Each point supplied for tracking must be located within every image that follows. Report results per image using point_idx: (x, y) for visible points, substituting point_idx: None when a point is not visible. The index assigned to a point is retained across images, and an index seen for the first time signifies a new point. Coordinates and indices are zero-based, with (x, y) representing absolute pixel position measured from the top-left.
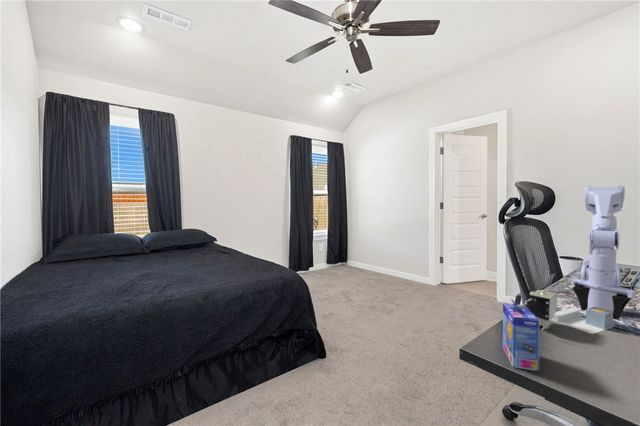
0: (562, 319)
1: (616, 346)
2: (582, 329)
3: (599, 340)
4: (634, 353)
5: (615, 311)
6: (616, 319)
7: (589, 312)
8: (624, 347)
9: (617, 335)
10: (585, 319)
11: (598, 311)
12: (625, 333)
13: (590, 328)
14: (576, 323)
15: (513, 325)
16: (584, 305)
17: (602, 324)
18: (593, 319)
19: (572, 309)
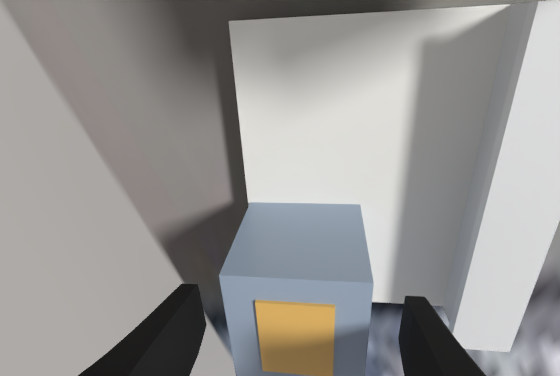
0: (497, 92)
1: (97, 20)
2: (311, 49)
3: (188, 16)
4: (7, 12)
5: (143, 332)
6: (179, 287)
7: (341, 265)
8: (80, 57)
9: (209, 218)
10: (393, 276)
11: (282, 302)
12: (214, 279)
13: (295, 134)
14: (395, 144)
15: None
16: (415, 345)
17: (254, 218)
18: (309, 230)
19: (498, 309)
